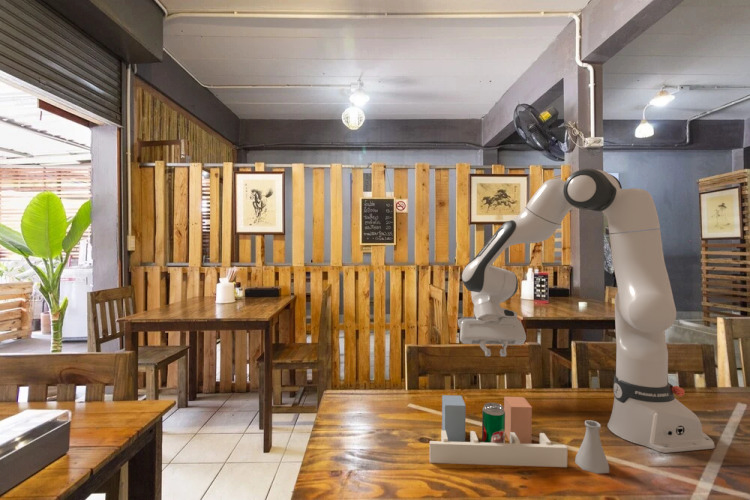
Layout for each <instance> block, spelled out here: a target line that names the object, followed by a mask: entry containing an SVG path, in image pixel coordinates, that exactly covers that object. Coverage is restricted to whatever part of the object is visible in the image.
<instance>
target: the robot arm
mask: <svg viewBox="0 0 750 500" xmlns="http://www.w3.org/2000/svg"><path fill="white" fill-rule="evenodd" d="M573 209H579V210H584V211H589V212H602V214H604V215H605V217H606V221H607V225H608V235H609V243H610V253H611V260H612V267H613V271H614V275H615V280H616V286H617V292H616V294H615V296H614V321H615V324H614V325H615V326H614V327H615V342H616V356H615V357H616V358H615V359H616V361H615V374H614V375H613V397H614V398H613V399H614V400H613V405H612V411H611V414H610V418H609V421H608V422H607V428H608V430H610V431H611V433H613V434H614V435H616V437H617V436H618V437H619V438H621V439H623V440H625V441H628V442H631V443H634V444H636V445H641V446H644V447H647V448H650V449H652V450H654V451H656V452H660V453H666V454H667V453H677V452H689V451H699V450H710V449H715V448H716V445H715V442H714V441H713V439H712V438H710V436H709V435H707V434H706V433H705V432H703V426H702V422H701V421H700V419H699V417H698V416H697V415H696V413H694V412H693V411H692V410H690V409H689V408H688V407H687V406H685V405H684V404H683V403H682V402H680V401H679V400H678V399H677V398H675V395H676V396H678V397H683V396H684V395H685V393H686V392H685V390H684V389H683V388H682V387H679V386H677V385H674V386H673V384H671V383H670V382H668V377H669V375H668V372H669V371H668V370H669V366H668V365H669V351H668V346H667V339H666V330H669V329H670V328H671V327H672V326H673V325H674V323H675V322H676V319H677V309H676V304H675V300H674V296H673V291H672V287H671V286H672V285H671V282H670V277H669V274H668V270H667V267H666V262H665V257H664V250H663V249H664V248H663V241H662V235H661V234H662V233H661V225H660V221H659V215H658V211H657V207H656V204H655V201H654V199H653V196H652V195H651V193H650V192H649V191H647V190H645V189H642V188H638V187H637V188H636V187H632V188H623V187H622V184H621V182H620V180H619V179H618V178H617V177H616V176H614V175H612V174H610V173H609V172H606V171H604V170H602V169H597V168H596V169H595V168H582V169H579V170H577V171H574V172H573V173H572V174H571V175H569V176H568V177H567V179H566V180H562V179H557V178H549V179H547V180H545V181H544V182H543V183H542V184H541V185H540V186H539V188H538V189H537V190H536V191H535V193H534V194H533V195H532V197H531V198H530V199H529V201H528V202H527V203H526V205H525V207H524V209H522V211H521V212H520V213H519V214H517V216H516V217H514V218H513V219H511V220H507V221H506V222H504V223H503V224H501V226H500V227H499V228H498V229H497V230H496V231H495V232H494V233H493V235H492V236H491V237H490V239H488V241H487V242H486V244H485V245H483V247H482V248H481V250H480V251H479V252H478V253H477V254H476V255H475V256H474V258H473V259H471V260H470V261H469V262H468V263H467V264H466V265H465V267H463V270H462V273H461V280H462V284H463V285H464V287H465V288H466V290H468V292H470V296H471V302H472V304H473V315H474V316H461V317H460V318H458V319H457V326H458V328H459V341H460V342H461V344H463V345H479V347H480V349H482V351H483V352H484V356H485V357H491V356H492V352H491V348H488V347H487V346H486V345H501V347H502V348H500V351H499V354H500V355H499V356H500V357H504V358H505V357H507V347H508V345H509V346H510V345H516V346H517V345H518V346H522V345H523V344H525V342H526V340H527V335H526V331H525V328H524V325H523V323H522V321H520V320H519V319H518V312H516V311H515V310H510V309H508V308H504V307H501V303H504V302H506V301H508V300H509V299H511V298H512V297H513V296H514V295H516V293H517V292H518V289H519V280H518V276H517V275H516V273H515V272H513V271H511V270H508V269H506V268H502V267H498V266H496V265H495V266H494V265H493V264H494V263H495V261H496V260H497V259H498V258H499V256H501V254H502V253H503V252H504V251H505V250H506V249H508V248H509V247H511V246H514V245H519V244H520V245H521V244H537V243H542V242H545V241H546V240H549V239H550V238H551V237H552V236H553V235H554V234H555V233H556V231H557V229H558V228H559V227H560V225H561V224H562V222H563V220H564V219H565V217H566V216H567V214H568V213H569V212H571V210H573Z"/></svg>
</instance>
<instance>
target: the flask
mask: <svg viewBox="0 0 750 500" xmlns="http://www.w3.org/2000/svg"><path fill="white" fill-rule="evenodd" d="M601 424H602V423H599V422H598V421H596V420H591V419H590V420H589V419H587V420H585V421H584V426H585V434H584V437H583V440H582V442H581V444H580V447H579V449H578V451H577V453H576V455H575V459H574V463H575V464H576V465H577V466H578V467H579V468H581V470H582V471H587V472H590V473H594V474H597V475H598V474H609V473H610V464H609V462H608V459H607V456H606V453H605V451H604V448H603V445H602V441H601V436H600V430H601V428H602V427H601V426H602V425H601Z"/></svg>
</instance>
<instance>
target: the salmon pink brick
mask: <svg viewBox="0 0 750 500" xmlns="http://www.w3.org/2000/svg"><path fill="white" fill-rule="evenodd" d="M503 399H504V400H503V408H504V411H505V437H506V438H507V439H508V441H509V442H510V432H515V434H516V436H517V437H518V439H519V441H520V444H532V432H533V431H532V429H533V428H532V422H533V421H532V419H533V407H532V406H531V404H530V403H529V402H528V400H527V399H526V398H525V397H524V396H503Z"/></svg>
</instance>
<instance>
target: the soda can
mask: <svg viewBox="0 0 750 500" xmlns="http://www.w3.org/2000/svg"><path fill="white" fill-rule="evenodd" d="M481 413H482V414H481V415H482V416H481V422H482V423H481V424H482V426H481V442H484V443H506V434H505V411H504V405H502V404H500V403H497V402H487V403H484V405H483V407H482V411H481Z"/></svg>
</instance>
